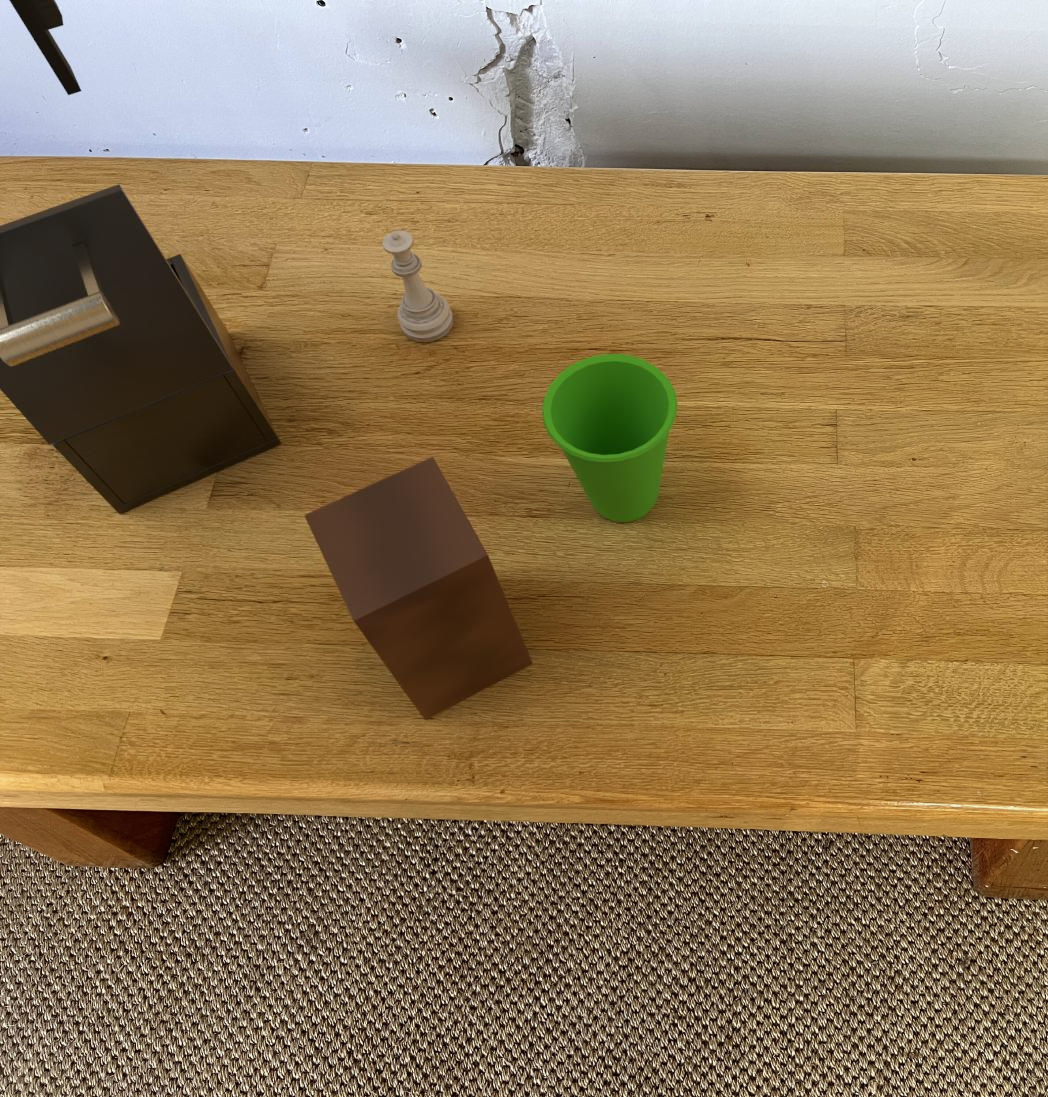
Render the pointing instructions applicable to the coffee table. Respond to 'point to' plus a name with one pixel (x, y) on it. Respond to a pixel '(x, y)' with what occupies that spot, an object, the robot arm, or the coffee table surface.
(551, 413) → the cup
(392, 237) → the chess piece
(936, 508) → the coffee table surface
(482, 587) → the dark brown rectangular block
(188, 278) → the dark boxy piece
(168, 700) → the coffee table surface
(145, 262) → the handled dark lid
